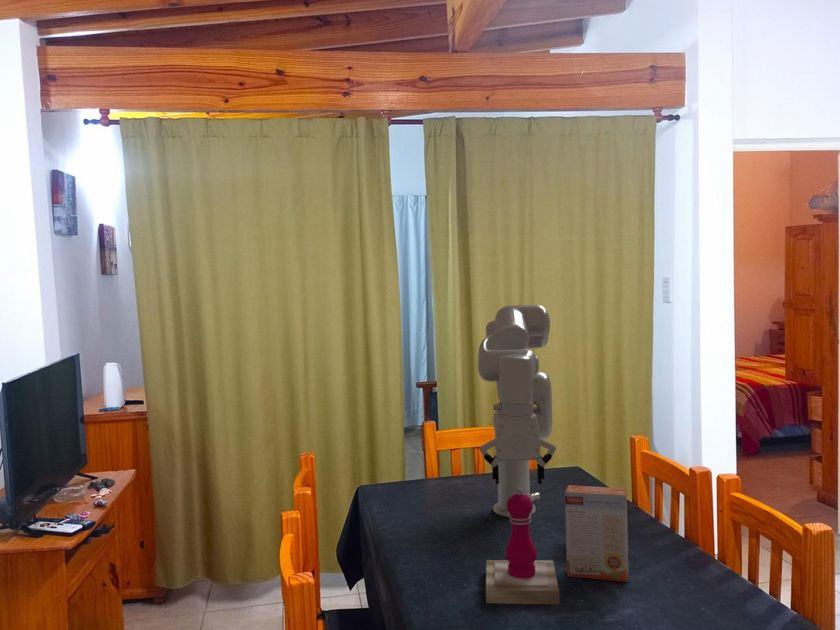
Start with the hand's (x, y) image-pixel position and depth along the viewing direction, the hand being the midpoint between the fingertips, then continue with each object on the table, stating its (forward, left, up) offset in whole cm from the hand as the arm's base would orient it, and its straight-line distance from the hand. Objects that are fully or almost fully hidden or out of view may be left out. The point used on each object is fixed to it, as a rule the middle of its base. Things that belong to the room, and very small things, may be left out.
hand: (518, 482), depth 164 cm
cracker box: (-18, +8, -25) cm, 32 cm away
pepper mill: (0, 0, -22) cm, 22 cm away
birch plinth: (0, 0, -25) cm, 25 cm away
